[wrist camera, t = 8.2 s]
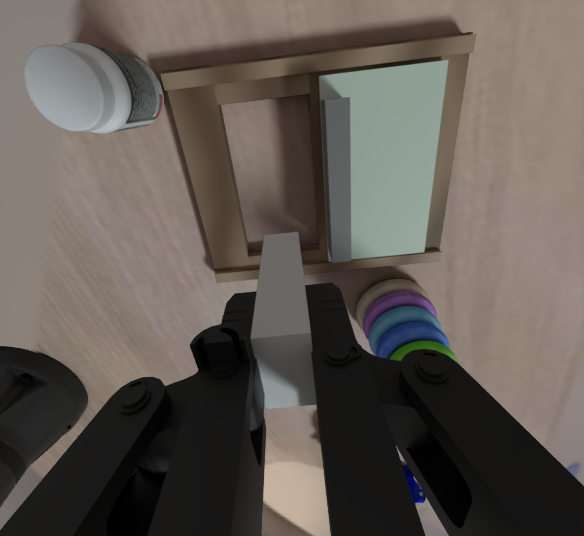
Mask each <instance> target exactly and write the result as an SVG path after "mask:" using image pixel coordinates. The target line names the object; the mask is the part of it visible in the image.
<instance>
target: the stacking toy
mask: <svg viewBox="0 0 584 536" xmlns="http://www.w3.org/2000/svg"><path fill="white" fill-rule="evenodd" d="M356 318H357V322H358V324H359V326H360V328H361V329H362V330H363V332H364V333H365V336H366V338H367V339H368V340H369V345H370V348H371V350H372V352H373V353H374V355H375V356H377V357H381V358H385V359H391V360H398V361H401V360H402V358H403V357H404V355H405V354H407V353H409V352H410V351H412V350H417V349H430V350H436V351H438V352H441V353H443V354H446V355H448V356H449V357H450V358H452V359H453V360H455V361H456V362H457V359H456V357H455V355H454V353H453V352H452V351H451V350H450V349H449V342H448V340H447V338H446V336H445V334H444V333H443V332H442V329H441V326H440V323H439V321H438V320H437V314H436V310H435V308H434V306H433V304H432V303H431V302H430V301H429V297H428V295H427V293H426V292H425V290H424V289H423V288H422V287H421V286H419V285H418V284H416V283H415V282H412V281H409V280H405V279H391V280H386V281H383V282H380V283H378V284H376V285H374V286H373V287H371V288H370V289H369V290H367V291H366V292H365V293H364V295H363V296H362V297H361V299H360V301H359V303H358V305H357V309H356ZM457 363H458V362H457Z"/></svg>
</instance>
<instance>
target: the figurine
mask: <svg viewBox="0 0 584 536" xmlns="http://www.w3.org/2000/svg"><path fill="white" fill-rule="evenodd" d="M403 469H404V472H405V475H406V478H407V481H408V484H409V487H410V490H411V494H412V497H413V500H414V503H417V502H419V503H423V502H424V501H425V499H426V496H425V494H424V492H423V491H422V489H421V488H420V486H419V484H418V483H417V482H416V481H415V480H414V475H413V474H412V472H411V470H410V468H409V467H404V468H403Z"/></svg>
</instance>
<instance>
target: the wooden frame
mask: <svg viewBox="0 0 584 536" xmlns="http://www.w3.org/2000/svg"><path fill="white" fill-rule="evenodd" d="M475 39H476V34H473V32H467V33H459V34H452V35H444V36H436V37H428V38H420V39H412V40H404V41H397V42H389V43H381V44H373V45H365V46H357V47H349V48H341V49H334V50H326V51H318V52H310V53H302V54H294V55H286V56H279V57H271V58H263V59H255V60H247V61H239V62H231V63H224V64H216V65H208V66H200V67H192V68H184V69H176V70H169V71H162V74H160V75H161V79H162V83H163V86H164V90H165V91H167V92H168V96H169V100H170V104H171V107H172V111H173V115H174V118H175V122H176V126H177V130H178V133H179V137H180V141H181V145H182V148H183V152H184V156H185V159H186V163H187V167H188V171H189V174H190V178H191V182H192V186H193V189H194V193H195V197H196V200H197V204H198V208H199V212H200V215H201V219H202V223H203V227H204V230H205V234H206V238H207V241H208V245H209V249H210V253H211V256H212V260H213V264H214V267H215V271H216V272H215V278H216V281H217V283H221V282H231V281H241V280H252V279H258V278H259V271H260V263H261V256H262V250H257V251H249V247H248V242H247V236H246V231H245V226H244V221H243V216H242V211H241V206H240V201H239V196H238V191H237V185H236V180H235V175H234V170H233V165H232V160H231V155H230V150H229V145H228V140H227V134H226V129H225V124H224V119H223V114H222V109H221V105H222V104H231V103H239V102H247V101H255V100H263V99H272V98H280V97H288V96H296V95H305V94H309V105H310V120H311V135H312V150H313V165H314V180H315V195H316V210H317V225H318V240H319V244H316V245H306V246H300V250H301V258H302V266H303V274H313V273H323V272H333V271H343V270H354V269H364V268H374V267H384V266H394V265H405V264H415V263H425V262H435V261H440V259H441V253H442V252H441V251H440V250H439V248H440V242H441V235H442V229H443V222H444V216H445V209H446V203H447V196H448V190H449V183H450V177H451V170H452V164H453V157H454V151H455V144H456V138H457V131H458V125H459V118H460V112H461V105H462V99H463V92H464V86H465V79H466V73H467V66H468V60H469V53H471V52H473V51H474V45H475ZM444 60H449V61H448V69H447V77H446V84H445V92H444V100H443V108H442V116H441V124H440V132H439V140H438V148H437V155H436V163H435V171H434V179H433V187H432V195H431V203H430V211H429V219H428V226H427V234H426V242H425V250H424V252H422V253H412V254H402V255H392V256H382V257H372V258H362V259H352V260H351V261H348V262H338V263H332V262H329V261H328V249H327V229H326V210H325V191H324V171H323V152H322V133H321V113H320V94H319V76H323V75H331V74H339V73H347V72H355V71H363V70H371V69H379V68H387V67H395V66H403V65H411V64H420V63H428V62H436V61H444Z"/></svg>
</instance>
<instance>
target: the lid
mask: <svg viewBox="0 0 584 536" xmlns="http://www.w3.org/2000/svg"><path fill="white" fill-rule="evenodd" d="M448 61H449V60H444V61H436V62H428V63H420V64H411V65H403V66H395V67H387V68H379V69H371V70H363V71H355V72H347V73H339V74H331V75H323V76H319V94H320V113H321V133H322V152H323V171H324V191H325V210H326V229H327V249H328V261H329V262H332V263H338V262H348V261H351V260H352V259H362V258H372V257H382V256H392V255H402V254H412V253H422V252H424V250H425V242H426V234H427V226H428V219H429V211H430V203H431V195H432V187H433V179H434V171H435V163H436V155H437V148H438V140H439V132H440V124H441V116H442V108H443V100H444V92H445V84H446V77H447V69H448Z"/></svg>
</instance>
